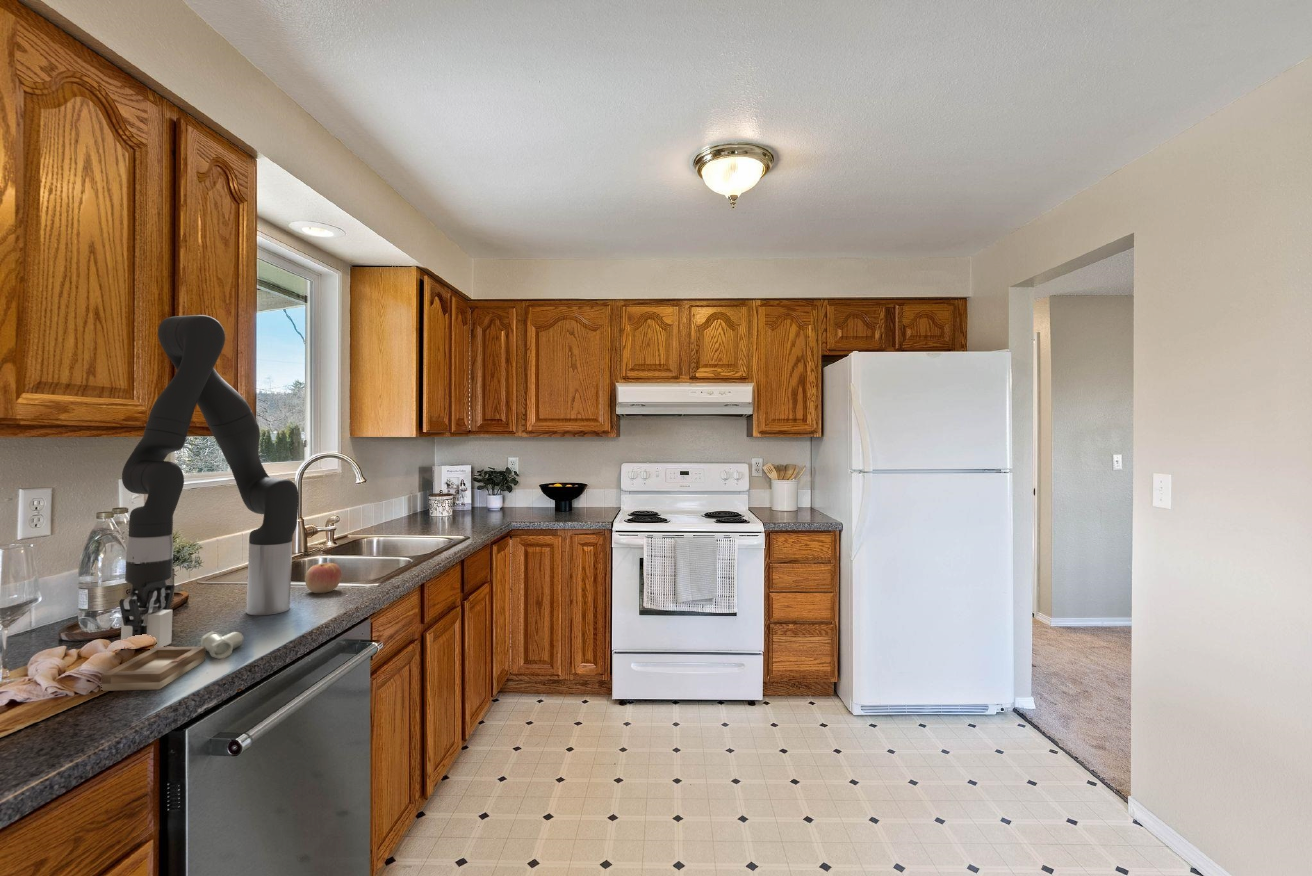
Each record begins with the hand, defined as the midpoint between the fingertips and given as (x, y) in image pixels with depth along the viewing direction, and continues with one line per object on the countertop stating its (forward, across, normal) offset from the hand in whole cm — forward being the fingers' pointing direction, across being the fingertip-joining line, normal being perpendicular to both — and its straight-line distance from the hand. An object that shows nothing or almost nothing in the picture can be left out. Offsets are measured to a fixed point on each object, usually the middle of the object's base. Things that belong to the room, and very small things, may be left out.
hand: (146, 640), depth 127 cm
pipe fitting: (+2, +4, +17) cm, 17 cm away
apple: (+2, -45, +18) cm, 49 cm away
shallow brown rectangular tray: (+1, +16, +11) cm, 19 cm away
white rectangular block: (+1, 0, 0) cm, 1 cm away
